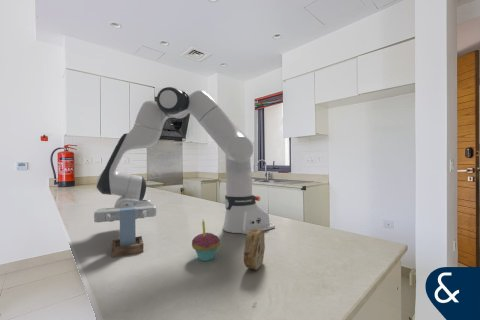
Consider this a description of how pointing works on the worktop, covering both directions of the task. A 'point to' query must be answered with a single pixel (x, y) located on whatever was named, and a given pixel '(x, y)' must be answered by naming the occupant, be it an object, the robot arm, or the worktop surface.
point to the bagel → (254, 249)
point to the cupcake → (205, 245)
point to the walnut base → (126, 247)
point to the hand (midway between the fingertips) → (127, 217)
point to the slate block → (127, 226)
